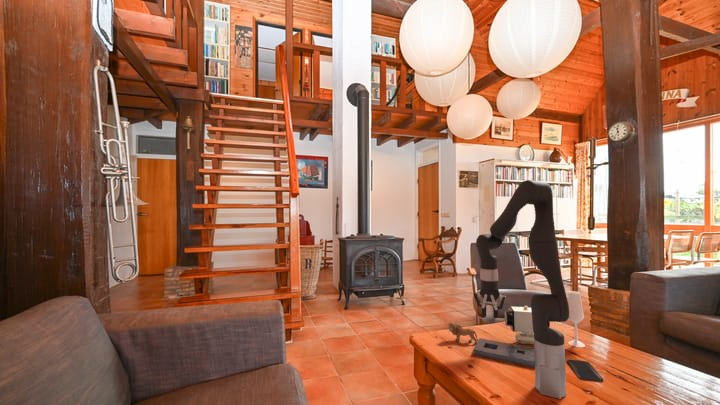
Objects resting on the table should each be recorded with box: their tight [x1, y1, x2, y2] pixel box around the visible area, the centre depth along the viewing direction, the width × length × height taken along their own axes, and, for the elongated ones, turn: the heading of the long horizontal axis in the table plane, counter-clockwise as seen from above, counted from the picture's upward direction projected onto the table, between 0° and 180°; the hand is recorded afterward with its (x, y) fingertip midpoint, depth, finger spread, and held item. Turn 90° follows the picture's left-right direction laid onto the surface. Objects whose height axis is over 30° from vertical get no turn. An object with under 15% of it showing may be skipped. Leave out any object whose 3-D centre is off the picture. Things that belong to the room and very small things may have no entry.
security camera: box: [503, 305, 551, 346], centre depth 150 cm, size 18×8×18 cm, turn 75°
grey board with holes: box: [472, 338, 535, 369], centre depth 139 cm, size 14×24×2 cm, turn 59°
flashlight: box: [485, 302, 496, 324], centre depth 142 cm, size 4×4×8 cm
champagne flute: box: [567, 290, 586, 348], centre depth 149 cm, size 7×7×24 cm
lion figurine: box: [447, 321, 479, 346], centre depth 153 cm, size 15×5×9 cm, turn 76°
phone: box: [566, 359, 604, 383], centre depth 124 cm, size 8×1×15 cm
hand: (490, 316), depth 142 cm, fingers closed on flashlight, 4 cm apart
